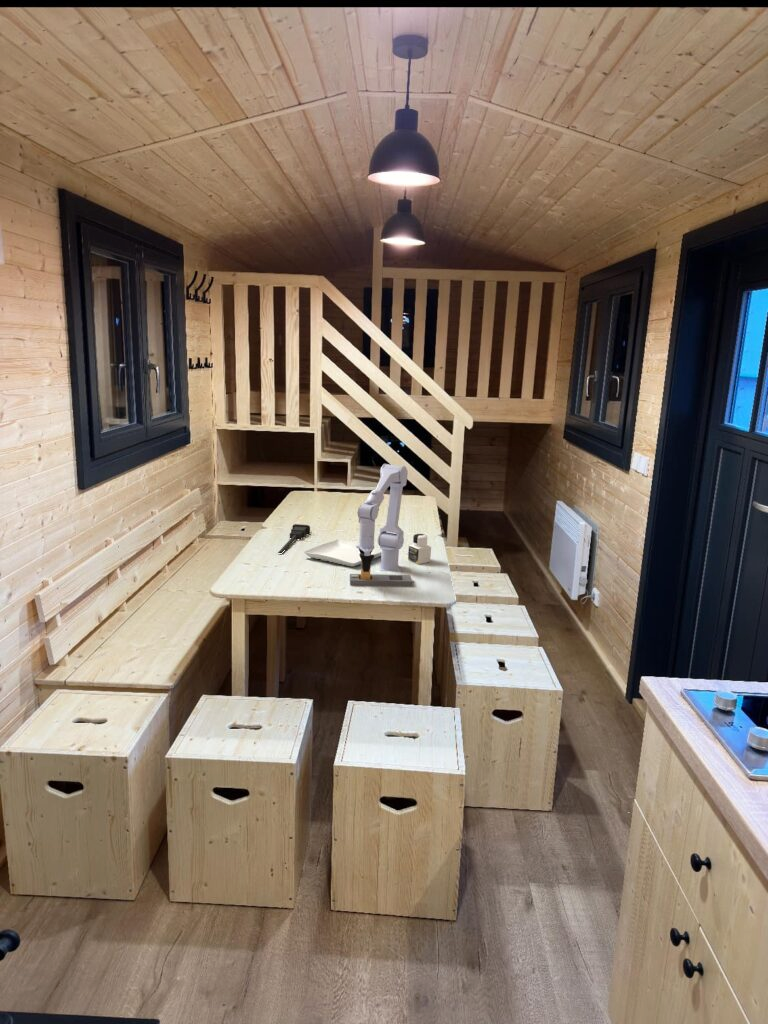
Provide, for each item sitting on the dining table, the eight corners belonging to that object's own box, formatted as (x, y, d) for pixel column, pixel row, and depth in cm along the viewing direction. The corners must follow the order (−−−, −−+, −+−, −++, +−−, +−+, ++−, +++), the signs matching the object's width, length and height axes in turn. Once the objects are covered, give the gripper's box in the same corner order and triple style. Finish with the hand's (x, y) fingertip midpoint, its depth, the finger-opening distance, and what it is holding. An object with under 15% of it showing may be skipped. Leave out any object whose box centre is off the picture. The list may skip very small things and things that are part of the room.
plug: (360, 580, 279) (361, 562, 277) (369, 580, 279) (370, 562, 278) (360, 583, 276) (361, 565, 274) (369, 583, 276) (370, 565, 274)
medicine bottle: (407, 560, 311) (409, 533, 308) (420, 558, 315) (422, 531, 312) (417, 564, 305) (419, 537, 302) (430, 562, 309) (432, 535, 306)
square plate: (354, 571, 293) (354, 562, 292) (301, 559, 307) (301, 550, 306) (388, 556, 316) (388, 548, 315) (337, 546, 329) (337, 538, 329)
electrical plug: (312, 532, 351) (312, 522, 350) (289, 559, 311) (289, 548, 310) (295, 530, 352) (295, 521, 351) (270, 557, 312) (270, 547, 311)
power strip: (349, 579, 281) (349, 572, 280) (409, 580, 283) (410, 573, 282) (350, 586, 273) (350, 578, 273) (411, 587, 275) (412, 579, 275)
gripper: (355, 529, 280) (354, 562, 283) (357, 539, 266) (355, 574, 269) (373, 530, 281) (372, 563, 284) (376, 539, 266) (374, 574, 269)
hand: (365, 568), depth 276 cm, fingers open, 7 cm apart
